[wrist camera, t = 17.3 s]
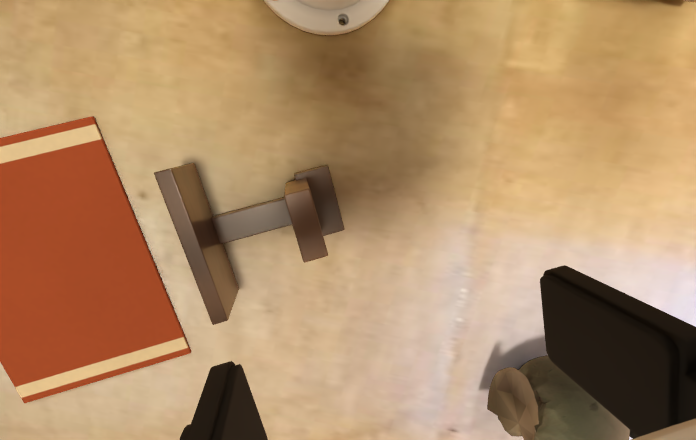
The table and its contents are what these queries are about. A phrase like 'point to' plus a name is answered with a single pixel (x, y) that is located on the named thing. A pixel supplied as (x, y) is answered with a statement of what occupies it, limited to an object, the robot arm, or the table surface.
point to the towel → (74, 267)
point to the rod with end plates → (244, 226)
